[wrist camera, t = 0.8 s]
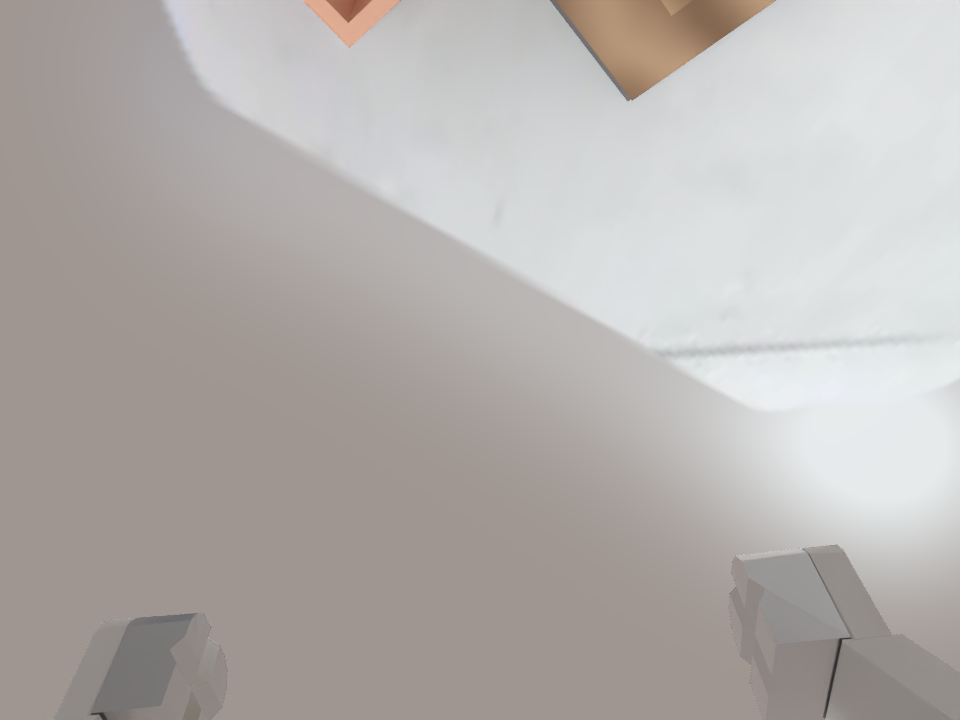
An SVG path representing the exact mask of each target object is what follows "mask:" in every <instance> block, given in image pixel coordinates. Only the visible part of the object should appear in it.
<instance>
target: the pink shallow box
mask: <svg viewBox="0 0 960 720" xmlns="http://www.w3.org/2000/svg"><path fill="white" fill-rule="evenodd" d="M303 1H304V2H305V3H306V4H307V5H308V6H309V7H310V8H311V9H312V10H313V11H314V12H315V13H316V14H317V15H318V16H319V17H320V18H321V19H322V21H323V22H324V23H325V24H326V25H327V26H328V27H329V28H330V29H331V30H332V31H333V32H334V33H335V34H336V35H337V36H338V37H339V38H340V39H341V40H342V41H343V42H344V43H345V44H346V45H347V46H348V47H349V48H350V47H351V46H352V45H353V44H354V43H355V42H356V41H357V40H358V39H359V38H360V37H361V36H363V35H364V34H365V33H366V32H367V31H368V30H369V29H370V28H371V27H372V26H373V25H374V24H375V23H377V22H378V21H379V20H380V19H381V18H382V17H383V16H384V15H385V14H386V13H387V12H388V11H390V10H391V9H392V8H393V7H394V6H395V5H396V4H397V3H398V2H399V1H400V0H303Z"/></svg>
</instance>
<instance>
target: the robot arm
mask: <svg viewBox="0 0 960 720" xmlns="http://www.w3.org/2000/svg"><path fill="white" fill-rule="evenodd" d="M731 573H732V576H733V578H734V581H735V584H736V587H735V588H734V589H733V590H732V591H731V592H730V596H729V597H730V598H729V613H730V621H731V628H732V631H733V635H734V639H735V642H736V646H737V648H738V651H739V654H740V656H741V657H742V658H743V659H745V660H746V661H747V662H748V663H750V664H751V665H752V666H751V677H750V685H751V687H752V690H753V692H754V695H755V698H756V701H757V704H758V706H759V709H760V711H761V714H762V717H763V720H960V672H959V671H957V670H955V669H954V668H953V667H951V666H950V665H948V664H947V663H945V662H944V661H942V660H940V659H939V658H937V657H936V656H935V655H933V654H932V653H930V652H929V651H927V650H926V649H924V648H923V647H921V646H920V645H918V644H916V643H915V642H914V641H912V640H911V639H909V638H908V637H906V636H905V635H903V634H896V635H892V634H891V632H890V630H889V629H888V627H887V625H886V623H885V622H884V620H883V618H882V616H881V615H880V613H879V611H878V610H877V608H876V606H875V604H874V603H873V601H872V599H871V597H870V596H869V594H868V592H867V590H866V589H865V587H864V585H863V583H862V582H861V580H860V578H859V577H858V575H857V573H856V571H855V570H854V568H853V566H852V564H851V563H850V561H849V559H848V557H847V556H846V554H845V552H844V550H843V549H842V548H840V547H839V546H838V545H829V546H820V547H810V548H803V549H800V548H797V549H788V550H779V551H771V552H762V553H754V554H745V555H737V556H735V557H734V559H733V562H732V572H731ZM210 630H211V626H210V624H209V622H208V620H207V618H206V616H205V615H204V613H193V614H180V615H167V616H153V617H141V618H132V619H120V620H110V621H104V622H103V623H102V624H101V625H100V626H99V627H98V628H96V630H95V631H94V634H93V636H92V638H91V640H90V642H89V644H88V646H87V648H86V650H85V652H84V655H83V657H82V659H81V661H80V663H79V665H78V667H77V670H76V672H75V674H74V676H73V678H72V680H71V682H70V684H69V687H68V689H67V691H66V693H65V695H64V697H63V699H62V702H61V704H60V706H59V708H58V710H57V712H56V714H55V716H54V719H46V720H211V719H212V718H213V717H214V716H215V715H216V714H217V713H218V711H219V710H220V709H221V708H222V706H223V702H224V698H225V694H226V690H227V665H226V660H225V655H224V653H223V651H222V649H221V647H220V645H218V644H216V643H215V642H213V641H212V640H210V639H208V636H209V633H210Z"/></svg>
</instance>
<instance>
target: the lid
mask: <svg viewBox="0 0 960 720" xmlns="http://www.w3.org/2000/svg"><path fill="white" fill-rule="evenodd" d="M556 1H557V3H558V4H559V5H560V7H561V8H562V9H563V11H564V12H565V13H566V15H567V16H568V17H569V18H570V20H571V21H572V22H573V24H574V25H575V26H576V28H577V29H578V30H579V32H580V33H581V34H582V36H583V37H584V38H585V39H586V41H587V42H588V43H589V45H590V46H591V47H592V49H593V50H594V51H595V53H596V54H597V55H598V56H599V58H600V59H601V60H602V62H603V63H604V64H605V66H606V67H607V68H608V70H609V71H610V72H611V73H612V75H613V76H614V77H615V79H616V80H617V81H618V83H619V84H620V85H621V87H622V88H623V89H624V91H625V92H626V93H627V94H628V96H629V97H630V98H631V100H634V99H635V98H637V97H638V96H639V95H641V94H642V93H644V92H645V91H647V90H648V89H650V88H651V87H652V86H654V85H655V84H657V83H658V82H660V81H661V80H662V79H664V78H665V77H667V76H668V75H670V74H671V73H672V72H674V71H675V70H677V69H678V68H680V67H681V66H683V65H684V64H685V63H687V62H688V61H690V60H691V59H693V58H694V57H695V56H697V55H698V54H700V53H701V52H703V51H704V50H706V49H707V48H708V47H710V46H711V45H713V44H714V43H716V42H717V41H718V40H720V39H721V38H723V37H724V36H726V35H727V34H729V33H730V32H731V31H733V30H734V29H736V28H737V27H739V26H740V25H741V24H743V23H744V22H746V21H747V20H749V19H750V18H751V17H753V16H754V15H756V14H757V13H759V12H760V11H762V10H763V9H764V8H766V7H767V6H769V5H770V4H772V3H773V2H774V1H776V0H556Z"/></svg>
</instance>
